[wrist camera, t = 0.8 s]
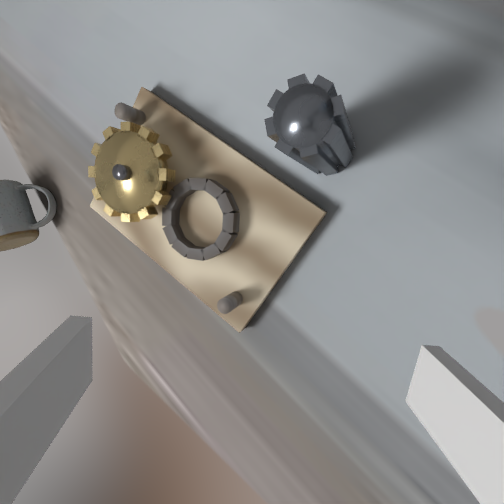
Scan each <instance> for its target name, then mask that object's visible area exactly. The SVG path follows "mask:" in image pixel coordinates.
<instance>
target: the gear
mask: <svg viewBox="0 0 504 504" xmlns="http://www.w3.org/2000/svg"><path fill="white" fill-rule="evenodd" d="M102 133H103V135H104V137H105V141H104V142H103V144H98V143H95V144H94V146H93V149H92V151H91V153H92V154H93V155H95V156H96V160H95V166H88V170H89V177H92V178H95V182H96V186H97V187H96V188H94V189H93V190H92V193H93V195H94V197H95V200H104V202H105V203H106V205H105V208H104V210H103V211H104V212H106V213H107V214H108V215H109V216H110V217H116V216H121V221H123V222H140V219H141V220H145V219H152V218H153V217H155V216H157V215H158V212H157V210H156V208H155V207H156V206H157V205H167V204H168V202H169V200H170V198H171V195H170V194H169V193H168V192H166V189H167V185H168V182H175V173H176V170H172V169H168V164H167V159H169V158H170V157H172V156H173V155H172V153H171V151H170V149H169V146H168V145H165V144H162V143H156V142H157V140H158V138H159V136H160V135H159V134H158V133H156V132H155V131H154V130H152V129H150V128H147V127H144V126H142V125H138V124H135V123H132V122H121V130H120V129H117V128H114V127H111V126H110V127H108V128H107V129H106V130H105V131H103V132H102Z"/></svg>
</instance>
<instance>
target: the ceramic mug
mask: <svg viewBox="0 0 504 504" xmlns="http://www.w3.org/2000/svg"><path fill="white" fill-rule="evenodd" d="M32 188H35V189H38V190H39V191H42V192H43V193H44V194H45V195H46V197H47V199H48V211H47V214H46V216H45V217H44V218H43V219H42V220H41V221H39V222H37V221H36V219H35V217H34V214H33V211H32V208H31V205H30V202H29V199H28V196H27V193H26V191H25V189H32ZM55 213H56V202H55V199H54V196H53V195H52V193H51V192H50V191H49V190H47V189H45V188H43V187H41V186H37V185H32V184H25V185H22V184H21V183H19V182H17V181H11V180H0V251H5V250H9V249H14V248H17V247H20V246H23V245H26V244H29V243H31V242H33V241H34V240H36V239H37V237H38V236H39V229H38V228H39V227H42V226H44V225H46V224H47V223H49V222H50V221H51V220H52V219H53V217H54V216H55Z"/></svg>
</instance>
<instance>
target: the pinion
mask: <svg viewBox="0 0 504 504" xmlns="http://www.w3.org/2000/svg"><path fill="white" fill-rule="evenodd" d="M288 86H289V90H287V91H286V92H285V93H284V94H283V93H282V92H280V91H279V90H277V89H276V91H275V93H274V94H273V96H272V98H271V100H270V101H269V103H268V105H267V106H268V107H269V108H270V109H271V110H272V111H274V114H273V117H270V118H267V119H265V124H266V130H267V136H268V137H270V138H271V139H273V140H274V141H275V142H277V143H276V145H275V148H277V149H278V150H280V151H281V152H283V153H284V154H286V155H287V156H289V157H291V158H292V159H294V160H296V161H297V162H299V163H300V164H302V165H304V166H305V167H307V168H309V169H310V170H312V171H314V172H315V173H317V174H318V173H319V172H320V171H321V172H322V173H324V174H325V175H326V176H327V175H331V174H335V173H338V170H337V166H339V165H340V164H341V165H343V166H344V167H347V165H348V164H349V162H350V161H351V159H352V158H353V156H352V154H351V152H350V149H353V148H355V144H354V137H353V133H352V130H351V127H350V123H349V120H348V116H347V113H346V110H345V106H344V103H343V99H342V96H341V95H339V96H337V93H336V90H335V87H334V84H333V83H332V82H331V81H329V80H327V79H325V78H324V77H322V76H320V75H318V76H317V77H316V79H315V81H314V82H313V84H310V83H309V81H308V79H307V77H306V75H305V74H302V75H299V76H296V77H293V78H291V79H288Z"/></svg>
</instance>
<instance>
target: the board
mask: <svg viewBox="0 0 504 504" xmlns="http://www.w3.org/2000/svg"><path fill="white" fill-rule="evenodd" d="M115 115H116V117H117V118H119V119H122V120H125V121H127V122H132V123H135V124H138V125H142V126H144V127H147V128H150V129H152V130H154V131H155V132H156V133H158V134H159V135H160V136H159V138H158V140H157V142H156V143H162V144H165V145H168V146H169V149H170V151H171V153H172V155H173V156H172V157H170V158H169V159H167V164H168V169H172V170H176V173H175V182H168V185H167V189H166V192H168V193H169V194H170V195H171V198H170V200H169V202H168V204H167V205H157V206H156V207H155V208H156V210H157V212H158V215H157V216H155V217H153V218H152V219H145V220H141V219H140V222H123V221H121V216H116V217H110V216H109V215H108V214H107V213H106V212H104V211H103V210H104V208H105V205H106V203H105V202H104V200H95V197H94V198H93V200H92V203H91V205H90V207H91V208H93V209H94V210H95V211H96V212H97V213H98V214H100V215H101V216H102V217H103V218H104V219H106V220H107V221H108V222H109V223H110V224H111V225H113V226H114V227H115V228H116V229H117V230H119V231H120V232H121V233H122V234H123V235H124V236H126V237H127V238H128V239H129V240H130V241H132V242H133V243H134V244H135V245H136V246H138V247H139V248H140V249H141V250H142V251H143V252H145V253H146V254H147V255H148V256H149V257H151V258H152V259H153V260H154V261H155V262H156V263H158V264H159V265H160V266H161V267H162V268H164V269H165V270H166V271H167V272H168V273H169V274H171V275H172V276H173V277H174V278H175V279H177V280H178V281H179V282H180V283H181V284H182V285H184V286H185V287H186V288H187V289H188V290H190V291H191V292H192V293H193V294H194V295H195V296H197V297H198V298H199V299H200V300H201V301H203V302H204V303H205V304H206V305H207V306H208V307H210V308H211V309H212V310H213V311H214V312H216V313H217V314H218V315H219V316H220V317H221V318H223V319H224V320H225V321H226V322H227V323H229V324H230V325H231V326H232V327H233V328H234V329H236V330H237V331H238V332H239V333H240V332H241V331H242V330H243V329H244V328H245V327H246V326H247V324H248V323H249V322H250V320H251V319H252V317H253V316H254V315H255V313H256V312H257V310H258V309H259V308H260V306H261V305H262V303H263V302H264V301H265V299H266V298H267V296H268V295H269V294H270V292H271V291H272V289H273V288H274V287H275V285H276V284H277V282H278V281H279V280H280V278H281V277H282V275H283V274H284V273H285V271H286V270H287V268H288V267H289V266H290V264H291V263H292V261H293V260H294V259H295V257H296V256H297V254H298V253H299V252H300V250H301V249H302V247H303V246H304V244H305V243H306V242H307V240H308V239H309V237H310V236H311V235H312V233H313V232H314V230H315V229H316V228H317V226H318V225H319V223H320V222H321V221H322V219H323V218H324V216H325V215H326V214H327V212H326V211H324V210H323V209H322V208H320V207H319V206H317V205H316V204H314V203H313V202H311V201H310V200H308V199H307V198H306V197H304V196H303V195H301V194H300V193H298V192H297V191H295V190H294V189H292V188H291V187H289V186H288V185H287V184H285V183H284V182H282V181H281V180H279V179H278V178H276V177H275V176H273V175H272V174H270V173H269V172H268V171H266V170H265V169H263V168H262V167H260V166H259V165H257V164H256V163H254V162H253V161H251V160H250V159H249V158H247V157H246V156H244V155H243V154H241V153H240V152H238V151H237V150H235V149H234V148H232V147H231V146H230V145H228V144H227V143H225V142H224V141H222V140H221V139H219V138H218V137H216V136H215V135H214V134H212V133H211V132H209V131H208V130H206V129H205V128H203V127H202V126H200V125H199V124H197V123H196V122H195V121H193V120H192V119H190V118H189V117H187V116H186V115H184V114H183V113H181V112H180V111H178V110H177V109H176V108H174V107H173V106H171V105H170V104H168V103H167V102H165V101H164V100H162V99H161V98H159V97H158V96H157V95H155V94H154V93H152V92H151V91H149V90H147V89H145V88H143V87H141V89H140V92H139V94H138V96H137V99H136V101H135V103H134V106H133V107H131V106H129V105H126V104H124V103H118V104H117V105H116V107H115Z"/></svg>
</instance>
